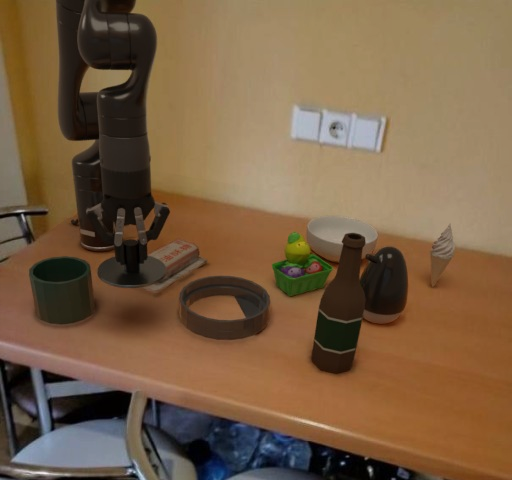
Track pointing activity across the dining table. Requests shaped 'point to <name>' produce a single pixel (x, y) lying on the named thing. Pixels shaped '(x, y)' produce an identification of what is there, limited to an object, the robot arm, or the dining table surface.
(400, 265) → the penguin figurine
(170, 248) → the packaged product
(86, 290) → the pot
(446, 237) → the ice cream cone
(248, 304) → the pan
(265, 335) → the dining table surface
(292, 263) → the fruit basket
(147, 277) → the lid
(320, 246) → the cereal bowl
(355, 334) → the beer bottle
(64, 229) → the dining table surface
